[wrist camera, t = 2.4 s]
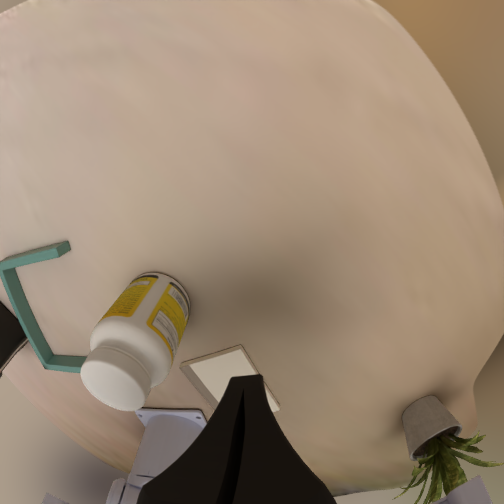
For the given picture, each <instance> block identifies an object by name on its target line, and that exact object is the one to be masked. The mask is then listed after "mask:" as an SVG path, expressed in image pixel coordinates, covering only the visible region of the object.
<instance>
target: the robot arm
mask: <svg viewBox="0 0 504 504" xmlns="http://www.w3.org/2000/svg"><path fill="white" fill-rule="evenodd" d="M135 413H136V415H137V416H138V417H139V419H140V420H141V422H142V423H143V425H144V426H145V431H144V434H143V437H142V440H141V443H140V446H139V449H138V452H137V455H136V458H135V461H134V464H133V467H132V470H131V473H130V474H129V477H128V480H127V483H125V479H123V478H119V479H117V480H114V482H113V484H112V487H111V489H110V492H109V495H108V498H107V501H106V504H337V503H336V501H335V499H334V498H333V496H332V495H331V493H330V492H329V490H328V489H327V487H326V486H325V484H324V483H323V482H322V481H321V480H320V479H319V478H318V477H317V476H316V475H315V474H314V473H313V472H312V471H311V470H310V468H309V467H308V466H307V465H306V464H305V463H304V462H303V460H302V459H301V458H300V456H299V455H298V454H297V453H296V451H295V450H294V449H293V447H292V446H291V444H290V443H289V441H288V440H287V438H286V437H285V435H284V433H283V432H282V430H281V428H280V426H279V425H278V423H277V421H276V419H275V417H274V415H273V413H272V410H271V408H270V405H269V403H268V399H267V395H266V390H265V385H264V381H263V376H262V375H260V374H255V375H246V376H235V377H231V378H230V380H229V383H228V385H227V388H226V390H225V392H224V394H223V396H222V398H221V400H220V402H219V404H218V406H217V408H216V409H215V411H214V413H213V415H212V416H211V418H210V419H209V421H208V423H207V422H206V420H205V418H204V416H203V413H202V412H201V411H200V410H164V409H143V408H140V409H138V410H136V411H135ZM42 504H68V503H67V502H65V501H64V500H62V499H60V498H57V497H55V496H53V495H51V494H49V493H46V495H45V497H44V499H43V502H42ZM431 504H493V503H492V501H491V499H490V496H489V494H488V492H487V489H486V487H485V485H484V483H483V481H482V478H481V476H480V475H478V476H476V477H474V478H472V479H471V480H469V481H467V482H465V483H464V484H462V485H460V486H458V487H456V488H455V489H453V490H452V491H451V492H450V493H449V494H448V495H447V496H446V497H444V498H441V499H439V500H437V501H435V502H433V503H431Z"/></svg>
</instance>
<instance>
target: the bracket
mask: <svg viewBox="0 0 504 504" xmlns="http://www.w3.org/2000/svg"><path fill="white" fill-rule="evenodd" d="M70 250H71V249H70V246H69V243H68V241H65V242H62V243H58V244H54V245H50V246H46V247H42V248H39V249H35V250H31V251H28V252H24V253H21V254H17V255H14V256H10V257H7V258H5V259H3V260H2V261H0V277H1V279H2V282H3V285H4V287H5V290H6V292H7V295H8V297H9V300H10V302H11V304H12V307H13V309H14V311H15V313H16V315H17V318H18V320H19V322H20V324H21V326H22V328H23V330H24V332H25V334H26V336H27V338H28V340H29V342H30V344H31V345H32V347H33V349H34V351H35V353H36V355H37V356H38V358H39V360H40V361H41V363H42V365H43V366H44V368H45V369H48V370H55V371H64V372H73V373H80V371H81V367H82V365H83V363H84V362H85V360H86V358H87V357H79V356H62V355H53V353H52V351H51V349H50V348H49V346H48V344H47V342H46V340H45V338H44V336H43V334H42V332H41V330H40V328H39V326H38V324H37V322H36V320H35V318H34V316H33V313H32V311H31V309H30V307H29V304H28V302H27V300H26V297H25V295H24V292H23V290H22V287H21V285H20V282H19V279H18V277H17V274H16V271H15V268H14V267H18V266H23V265H27V264H31V263H36V262H40V261H44V260H49V259H53V258H58V257H60V256H62V255H63V254H65V253H66V252H68V251H70Z"/></svg>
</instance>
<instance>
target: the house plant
mask: <svg viewBox="0 0 504 504" xmlns="http://www.w3.org/2000/svg"><path fill="white" fill-rule="evenodd" d="M402 421H403V426H404V431H405V435H406V440H407V446H408V451H409V457H410V459H411V460H413V461H418V462H419V464H420V465H419V467H418V468H416V467H415V466H414V470H413V472H412V476H414V477H413V479H412V481H411V483H410V484H409V485H408V487H407V488H402V489H405V491H404V492H403V493H402V494H404V493H405V492H406V491H407V490H408V489H409V488H412V487H415V486H417V485H419V484H420V483H422V482H423V481H424V480H425V482H424V485H423V488H422V490H421V493H420V495H419V497H418V499H417V500H416V502H415V503H414V504H417V503H418V501H419V500H420V498H421V496H422V493H423V491H424V488H425V484H426V481H427V478H428V474H429V471H430V469H431V467H433V473H432V477H431V480H432V481H431V485H430V489H429V491H428V494H427V497H426V499H425V501H424V503H423V504H427V502H428V500H429V498H430V500H429V502H428V504H430V502H432V503H433V502H435V501H437V500H439V499H440V497H441V493H442V482H443V489H444V492H445V494H446V496H447V495H448V494H449V493H450V492H451V491H452V490H453V489H455V488H456V487H458V486H460V485H462V484H464V483H465V482H467V479H466V476H465V473H464V471H463V469H462V468H461V467H460V464H459V462H458V460H457V458H456V457H459V458H461V459H464V460H466V461H468V462H469V463H472V464H474V465H478V466H483V467H493V466H499V465H503V464H504V463H489V462H485V461H481V460H478V459H475V458H473V457H470V456H467V455H465V454H463V453H460V452H458V451H455V450H453V449H451V448H456V449H460V450H464V451H467V452H474V453H481V452H483V451H482V450H479V449H478V448H477V447H474V446H470V445H472V444H476V443H478V442H479V441H481V440H482V439H483V438H484V437H485V436H486V435H484V436H480V437H478V435H479V432H478V434H477V435H476V436H475V437H473V438H470V439H463V438H459V437H458V436H459V434H460V433H461V430H462V425H461V424H460V423H459V422H458V421H457V420H456V419H455V417H454V416H453V415H452V414H451V413H450V412H449V411H448V410H447V409H446V407H445V406H444V405H443V404H442V403H441V402H440V401H439V400H438V399H437V398H436V397H435V396H433V395H430V396H426V397H423V398H421V399H418V400H417V401H415V402H414V403H412V404H411V405H410V406H409V407H408V408H407V409H406V410H405V411H404V413H403V415H402ZM454 440H455V441H456V442H454ZM455 456H456V457H455ZM424 463H425V466H424V468H421V466H422V464H424ZM426 468H427V469H426ZM424 469H426V471H425V473H424V474H423V476H422V478H421V479H420V480H419V481H418V482H417V483H416V484H414V485H413V486H411V485H412V484H413V482H414V481H415V479H416V477H417V475H418V474H419V473H420V472H422V471H423V470H424ZM400 488H401V487H400ZM402 494H400V495H399V496H401V495H402ZM399 496H397V497H399ZM397 497H395V498H397Z"/></svg>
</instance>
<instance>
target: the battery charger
mask: <svg viewBox="0 0 504 504" xmlns="http://www.w3.org/2000/svg"><path fill="white" fill-rule="evenodd" d="M27 342H28V338H27V336H26V334H25V332H24V330H23V328H22V326H21V324H20V322H19V321H18V320H17V319H16V318H15V317H14V316H13V315H12V314H11V313H10V312H9V311H8V310H7V309H6V308H5V307H4V306H3V305H2V304H1V303H0V377H1V376H2V371H3V369H4V368H5V367H6V366H7V364H8V363H9V362H10V361H11V359H12V358H13V357H14V355H15V354H16V353H17V352H18V351H19V350H20V349H22V348H23V347H24V346H25V345H26V344H27Z"/></svg>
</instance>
